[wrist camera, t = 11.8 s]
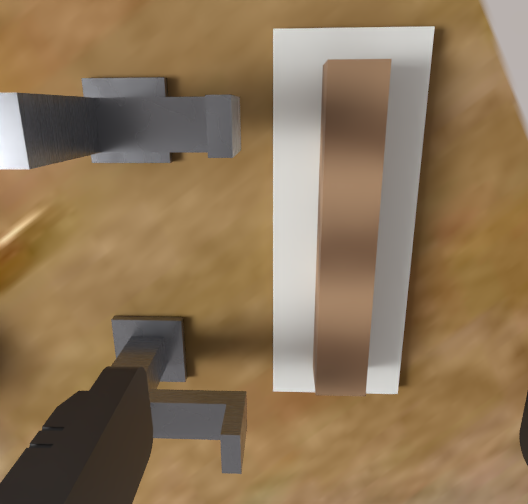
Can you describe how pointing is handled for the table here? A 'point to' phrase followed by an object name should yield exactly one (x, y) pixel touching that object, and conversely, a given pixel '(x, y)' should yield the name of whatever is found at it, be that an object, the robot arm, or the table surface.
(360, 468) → the table surface
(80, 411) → the robot arm
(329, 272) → the rail
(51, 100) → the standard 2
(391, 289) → the mat
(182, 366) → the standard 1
